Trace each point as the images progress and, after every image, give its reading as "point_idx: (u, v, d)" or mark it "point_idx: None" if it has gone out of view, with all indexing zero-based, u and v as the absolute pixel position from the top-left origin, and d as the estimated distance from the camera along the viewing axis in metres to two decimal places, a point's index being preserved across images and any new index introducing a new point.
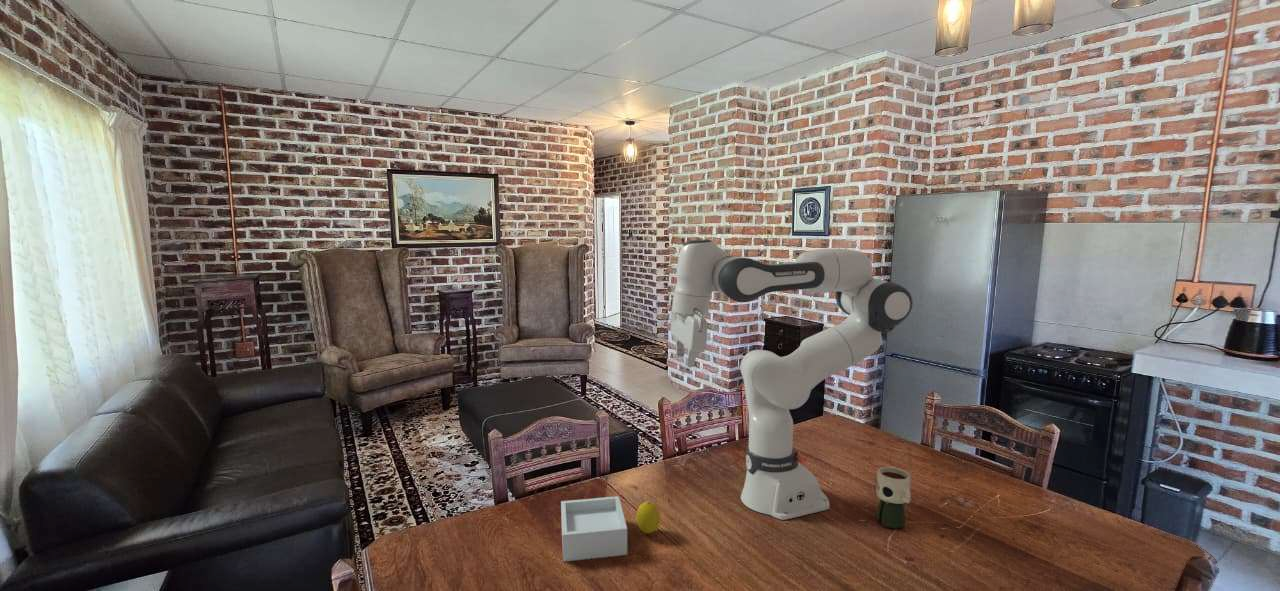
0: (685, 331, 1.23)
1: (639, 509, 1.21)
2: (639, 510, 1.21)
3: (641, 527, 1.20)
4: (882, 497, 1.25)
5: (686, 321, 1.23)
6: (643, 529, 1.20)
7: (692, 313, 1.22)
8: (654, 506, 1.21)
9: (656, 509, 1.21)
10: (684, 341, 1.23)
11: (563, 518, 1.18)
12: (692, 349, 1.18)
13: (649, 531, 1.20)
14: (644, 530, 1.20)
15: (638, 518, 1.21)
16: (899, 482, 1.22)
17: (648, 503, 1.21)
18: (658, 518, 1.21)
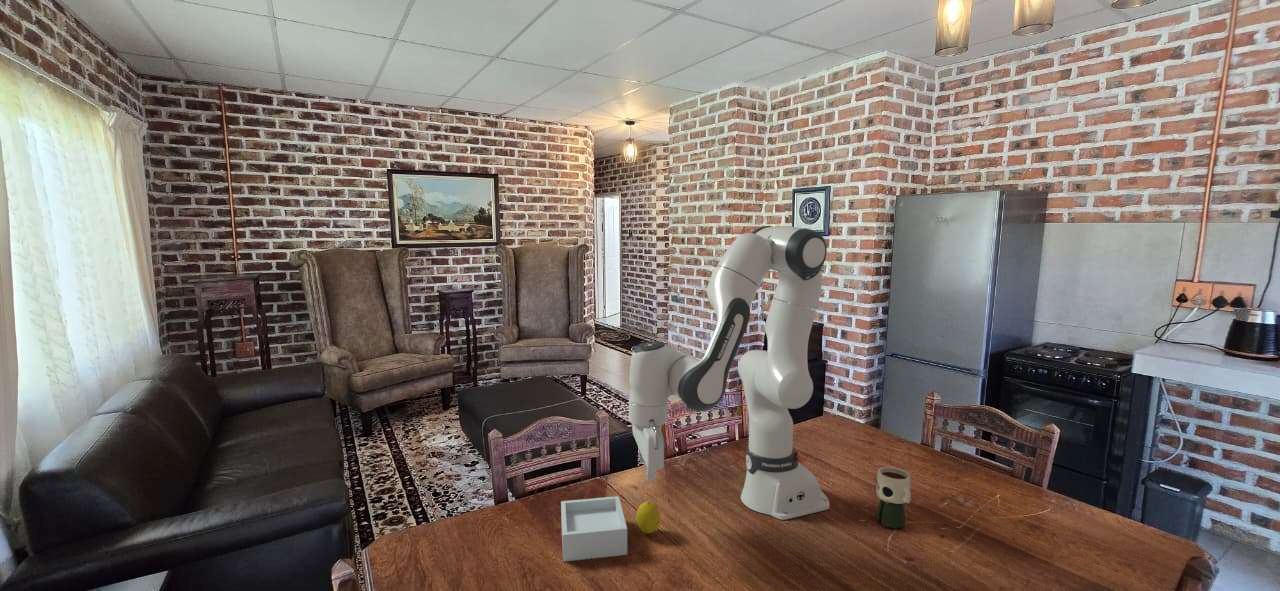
0: (642, 443, 1.15)
1: (639, 509, 1.21)
2: (639, 510, 1.21)
3: (641, 527, 1.20)
4: (882, 497, 1.25)
5: (643, 433, 1.15)
6: (643, 529, 1.20)
7: (648, 425, 1.15)
8: (654, 506, 1.21)
9: (656, 509, 1.21)
10: (642, 454, 1.15)
11: (563, 518, 1.18)
12: (649, 468, 1.10)
13: (649, 531, 1.20)
14: (644, 530, 1.20)
15: (638, 518, 1.21)
16: (899, 482, 1.22)
17: (648, 503, 1.21)
18: (658, 518, 1.21)
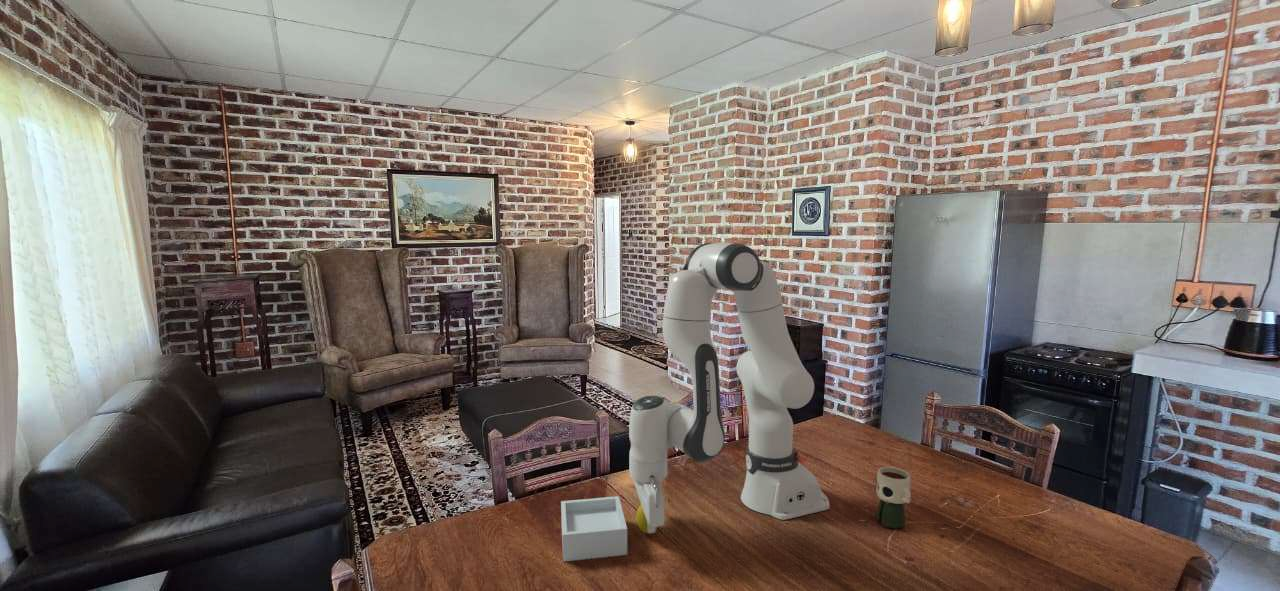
0: (643, 499, 1.17)
1: (639, 509, 1.21)
2: (639, 510, 1.21)
3: (641, 527, 1.20)
4: (882, 497, 1.25)
5: (643, 489, 1.17)
6: (643, 529, 1.20)
7: (649, 481, 1.16)
8: None
9: None
10: (643, 509, 1.17)
11: (563, 518, 1.18)
12: (650, 525, 1.12)
13: None
14: (644, 530, 1.20)
15: (638, 518, 1.21)
16: (899, 482, 1.22)
17: None
18: None
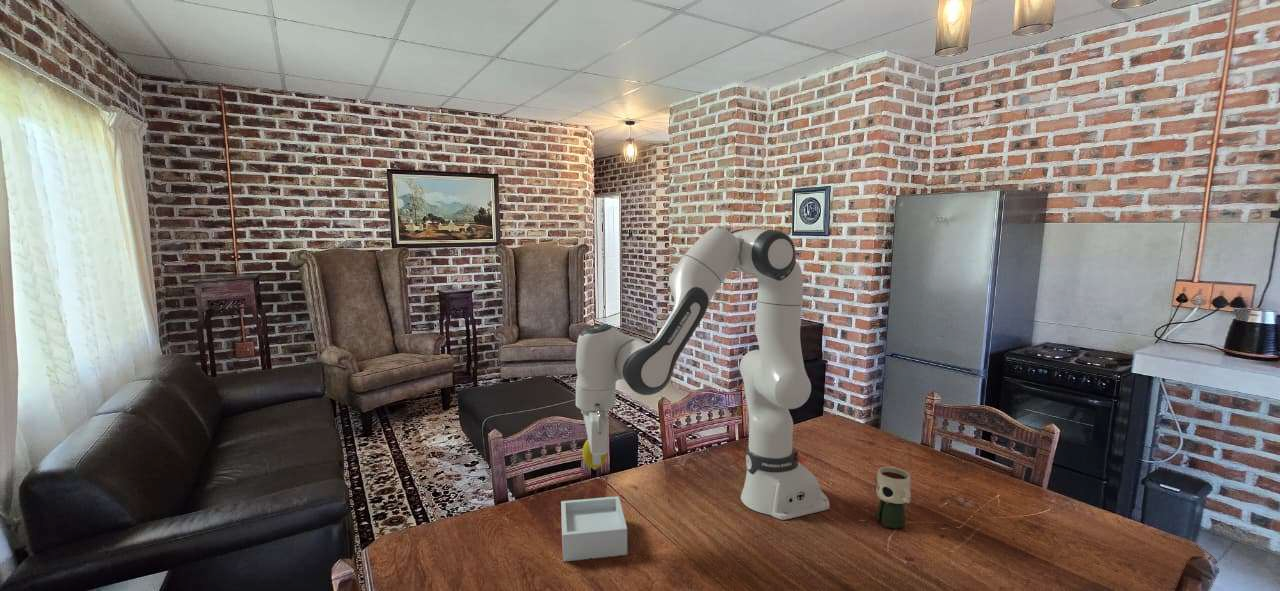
0: (588, 429, 1.13)
1: (585, 443, 1.17)
2: (585, 444, 1.17)
3: (587, 461, 1.16)
4: (882, 497, 1.25)
5: None
6: (588, 463, 1.16)
7: (594, 409, 1.12)
8: None
9: None
10: (588, 439, 1.13)
11: (563, 518, 1.18)
12: (593, 453, 1.08)
13: (595, 466, 1.16)
14: (590, 464, 1.16)
15: (584, 452, 1.16)
16: (899, 482, 1.22)
17: None
18: None
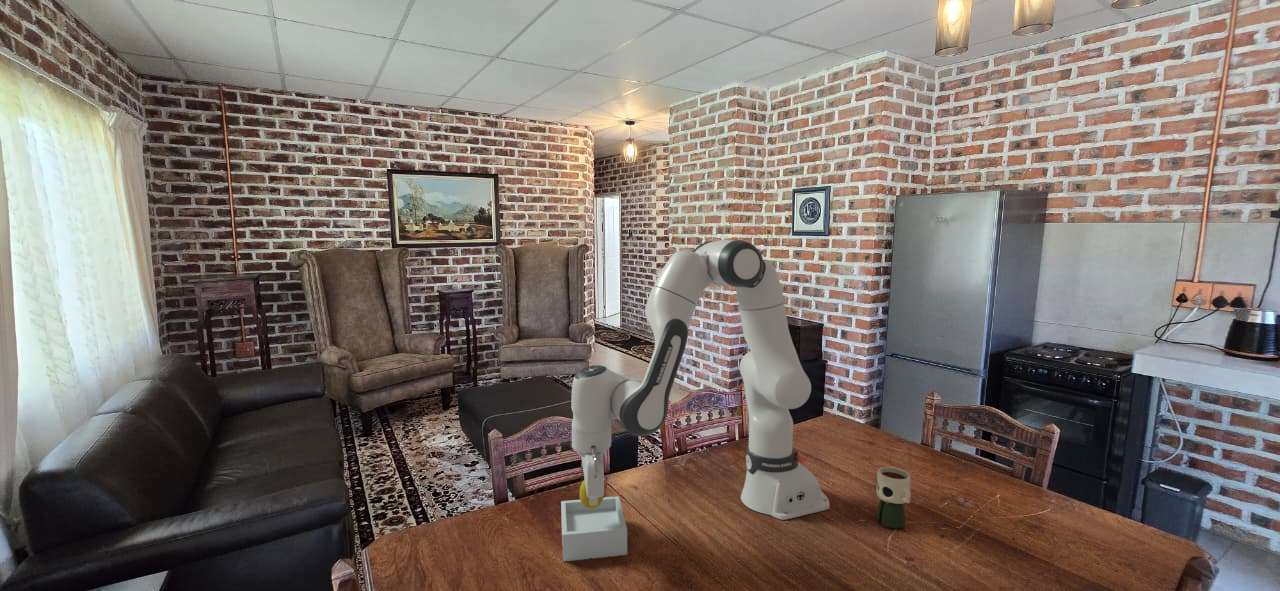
0: (585, 470, 1.14)
1: (582, 484, 1.18)
2: (582, 485, 1.18)
3: (584, 502, 1.17)
4: (882, 497, 1.25)
5: None
6: (585, 504, 1.17)
7: (590, 451, 1.13)
8: None
9: None
10: None
11: (563, 518, 1.18)
12: (589, 496, 1.09)
13: (592, 506, 1.17)
14: (586, 505, 1.17)
15: (581, 493, 1.18)
16: (899, 482, 1.22)
17: None
18: None
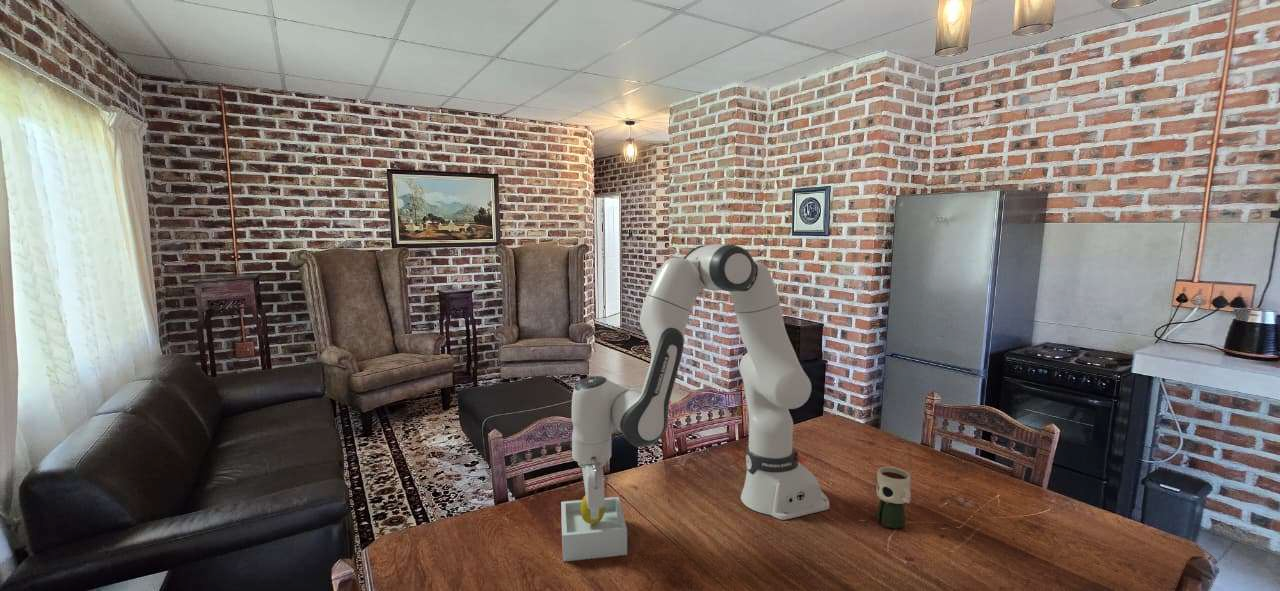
0: (585, 481, 1.14)
1: (583, 500, 1.19)
2: (583, 501, 1.19)
3: (585, 518, 1.18)
4: (882, 497, 1.25)
5: (585, 471, 1.14)
6: (586, 520, 1.18)
7: (590, 462, 1.14)
8: None
9: None
10: (585, 492, 1.14)
11: (563, 519, 1.18)
12: (589, 507, 1.09)
13: (593, 522, 1.18)
14: (588, 521, 1.18)
15: (582, 509, 1.18)
16: (899, 482, 1.22)
17: None
18: (602, 509, 1.18)
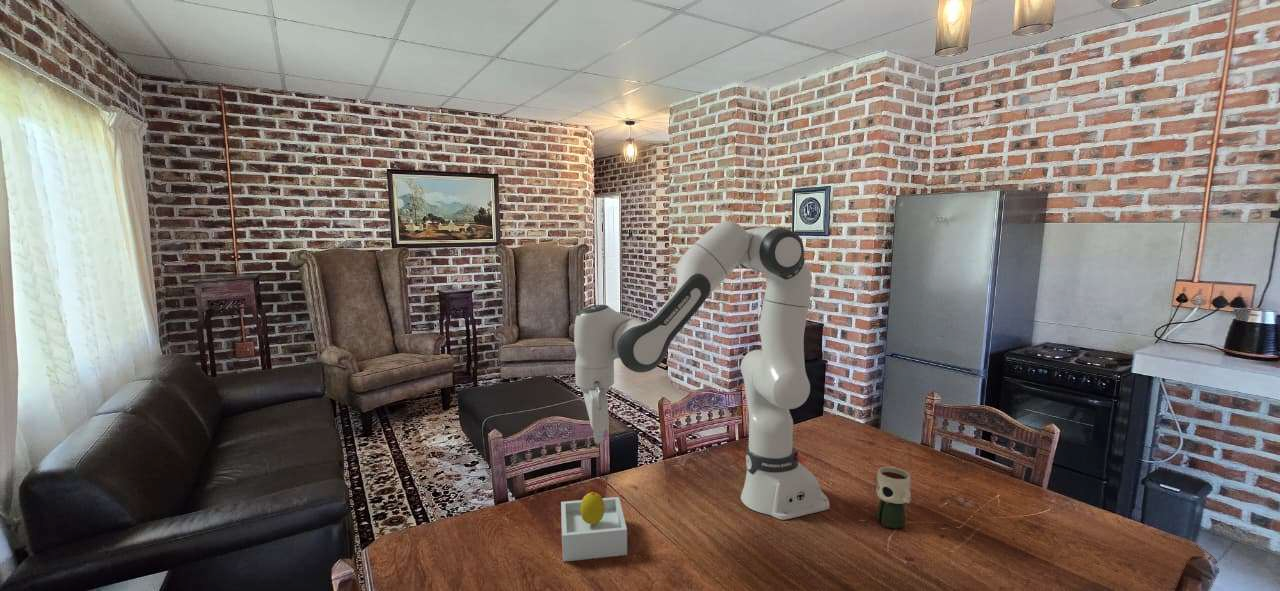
0: (589, 406, 1.16)
1: (583, 500, 1.19)
2: (583, 501, 1.18)
3: (585, 518, 1.18)
4: (882, 497, 1.25)
5: (588, 395, 1.16)
6: (586, 520, 1.18)
7: (593, 387, 1.15)
8: (598, 497, 1.19)
9: (600, 500, 1.19)
10: (589, 417, 1.16)
11: (563, 519, 1.18)
12: (594, 428, 1.11)
13: (593, 522, 1.18)
14: (587, 521, 1.18)
15: (581, 509, 1.18)
16: (899, 482, 1.22)
17: (592, 494, 1.19)
18: (602, 509, 1.18)
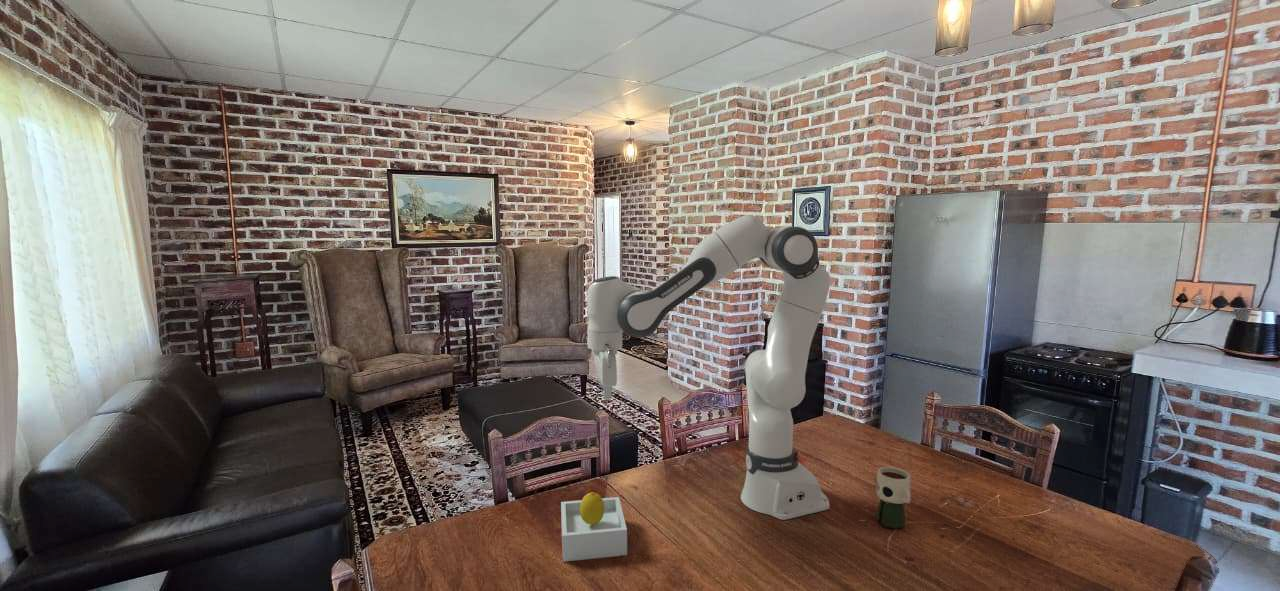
0: (599, 366, 1.29)
1: (582, 500, 1.19)
2: (582, 501, 1.18)
3: (585, 519, 1.18)
4: (882, 497, 1.25)
5: (599, 357, 1.29)
6: (586, 521, 1.18)
7: (604, 349, 1.28)
8: (598, 497, 1.19)
9: (600, 500, 1.19)
10: (599, 376, 1.29)
11: (563, 519, 1.18)
12: (603, 385, 1.24)
13: (592, 523, 1.18)
14: (587, 522, 1.18)
15: (581, 509, 1.18)
16: (899, 482, 1.22)
17: (592, 494, 1.19)
18: (602, 509, 1.18)
